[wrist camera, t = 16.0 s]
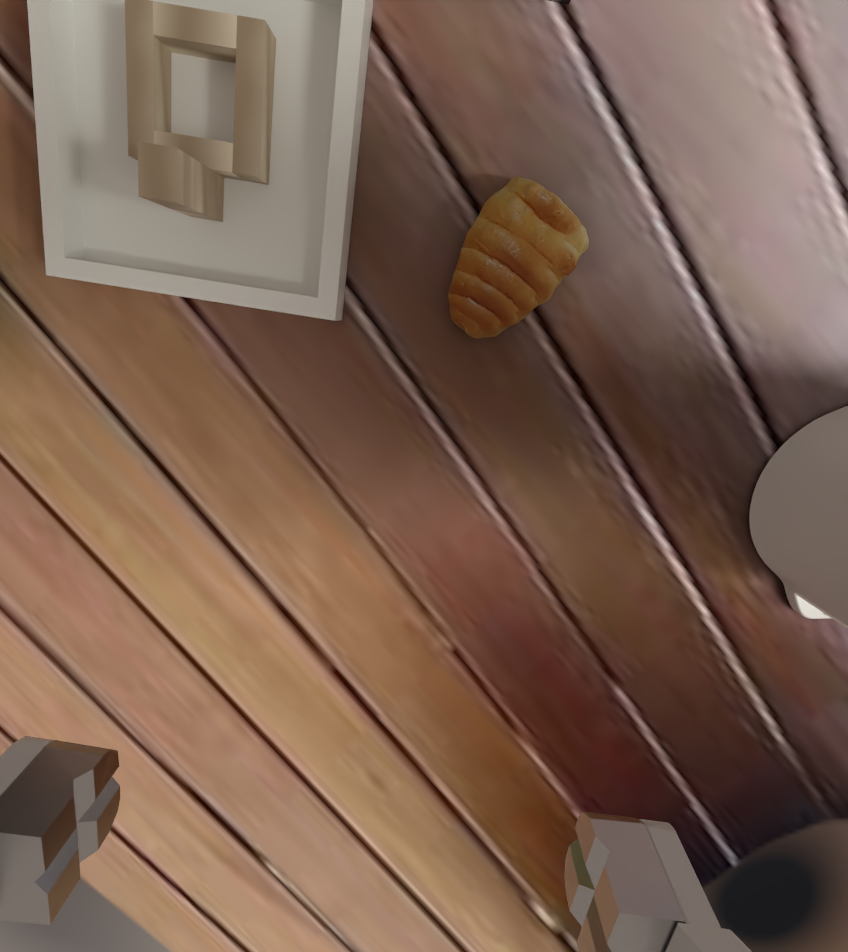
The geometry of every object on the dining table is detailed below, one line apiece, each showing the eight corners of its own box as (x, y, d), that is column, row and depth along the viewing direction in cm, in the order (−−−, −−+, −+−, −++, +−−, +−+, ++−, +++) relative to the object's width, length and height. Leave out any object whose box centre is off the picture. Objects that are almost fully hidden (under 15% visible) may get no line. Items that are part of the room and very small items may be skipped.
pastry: (500, 359, 35) (507, 364, 32) (421, 298, 34) (418, 296, 31) (591, 238, 33) (610, 228, 29) (509, 169, 32) (518, 150, 28)
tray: (374, -8, 29) (368, -37, 27) (342, 320, 34) (335, 320, 32) (54, -64, 29) (20, -98, 26) (73, 277, 34) (45, 275, 32)
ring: (276, 39, 29) (237, -28, 24) (266, 229, 32) (229, 210, 27) (144, 16, 29) (73, -56, 23) (147, 209, 32) (85, 187, 26)
